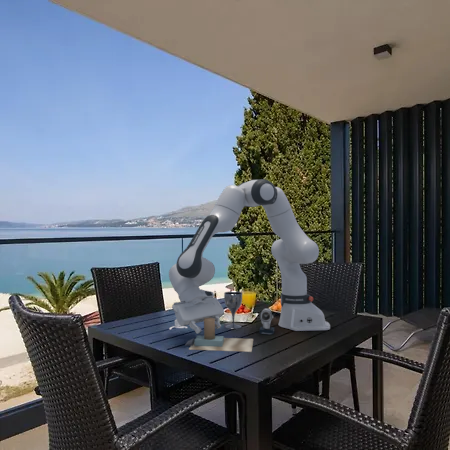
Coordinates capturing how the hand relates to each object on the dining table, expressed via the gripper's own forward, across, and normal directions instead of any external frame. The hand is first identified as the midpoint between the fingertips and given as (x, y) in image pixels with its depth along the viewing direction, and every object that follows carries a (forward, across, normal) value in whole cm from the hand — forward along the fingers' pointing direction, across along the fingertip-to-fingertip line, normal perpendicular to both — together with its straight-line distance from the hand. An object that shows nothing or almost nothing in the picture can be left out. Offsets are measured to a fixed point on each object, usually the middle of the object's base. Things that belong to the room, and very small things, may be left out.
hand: (209, 330), depth 140 cm
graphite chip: (0, -5, +8) cm, 9 cm away
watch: (+8, +26, +1) cm, 28 cm away
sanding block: (+4, 0, +4) cm, 5 cm away
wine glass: (-6, +27, +15) cm, 31 cm away
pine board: (+7, +3, +2) cm, 8 cm away
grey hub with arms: (-16, +5, +26) cm, 31 cm away
